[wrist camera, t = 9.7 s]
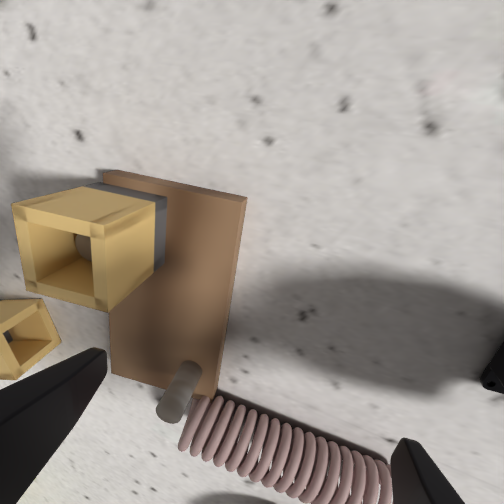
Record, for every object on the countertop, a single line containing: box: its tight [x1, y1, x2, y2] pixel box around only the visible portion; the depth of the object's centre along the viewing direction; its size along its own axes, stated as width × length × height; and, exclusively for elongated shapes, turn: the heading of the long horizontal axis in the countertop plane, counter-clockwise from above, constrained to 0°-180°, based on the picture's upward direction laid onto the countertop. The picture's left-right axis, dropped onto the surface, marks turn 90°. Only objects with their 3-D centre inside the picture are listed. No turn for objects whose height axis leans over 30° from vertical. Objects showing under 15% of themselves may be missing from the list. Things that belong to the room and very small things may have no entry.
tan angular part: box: [0, 299, 61, 380], centre depth 25 cm, size 5×5×6 cm
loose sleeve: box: [11, 182, 167, 313], centre depth 17 cm, size 5×5×6 cm
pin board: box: [75, 170, 247, 424], centre depth 20 cm, size 9×17×6 cm, turn 171°
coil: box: [178, 396, 394, 504], centre depth 24 cm, size 5×5×18 cm
